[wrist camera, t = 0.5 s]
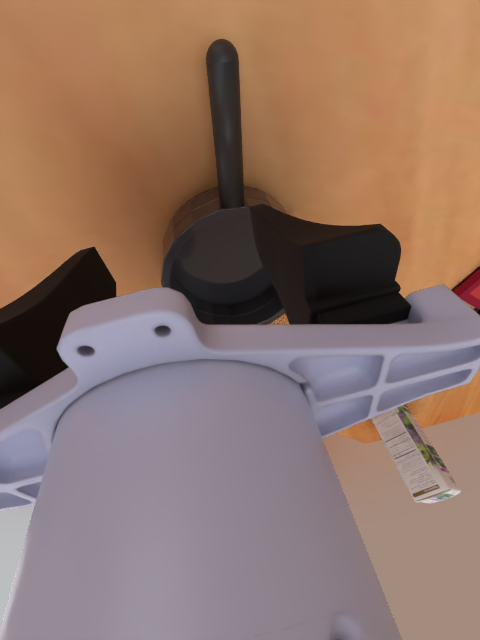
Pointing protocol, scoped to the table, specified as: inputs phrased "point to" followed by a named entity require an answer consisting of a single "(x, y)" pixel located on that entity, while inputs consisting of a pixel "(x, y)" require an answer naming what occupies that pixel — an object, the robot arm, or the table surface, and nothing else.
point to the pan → (220, 261)
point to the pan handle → (226, 120)
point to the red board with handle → (470, 290)
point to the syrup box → (415, 456)
